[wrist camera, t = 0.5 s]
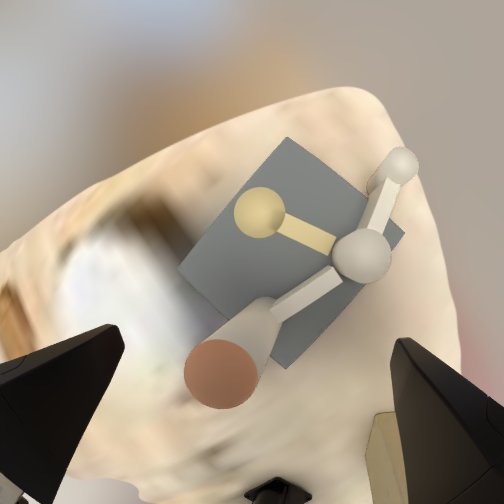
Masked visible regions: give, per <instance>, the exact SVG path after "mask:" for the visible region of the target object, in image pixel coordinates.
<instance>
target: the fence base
mask: <svg viewBox="0 0 504 504" xmlns="http://www.w3.org/2000/svg"><path fill="white" fill-rule="evenodd" d="M418 169H419V164H418V160H417V158H416V156H415V155H414V154H413V153H412V152H411V151H410V150H409V149H407V148H404V147H396V148H394V149H392V150H391V151H390V153H389V154H388V155H387V157H386V158H385V159H384V161H383V162H382V163H381V165H380V166H379V167H378V169H377V170H376V171H375V173H374V174H373V175H372V177H371V178H370V179H369V181H368V182H367V192H368V194H369V197H368V199H369V200H368V203H367V205H366V208H365V210H364V213H363V215H362V217H361V220H360V222H359V225H358V227H357V229H356V231H354V232H352V233H350V234H348V235H347V236H345V237H343V238H341V239H340V240H339V241H338V242H337V243H336V244H335V246H334V248H333V250H332V262H333V265H334V267H335V269H336V270H337V271H338V272H339V273H340V274H342V275H344V276H346V277H348V278H350V279H352V280H354V281H356V282H358V283H364V284H368V283H373V282H375V281H378V280H379V279H381V278H382V277H383V276H384V275H385V274H386V272H387V271H388V269H389V266H390V263H391V249H390V245H389V243H388V241H387V240H386V238H385V237H384V236H383V235H382V234H383V231H384V229H385V226H386V224H387V221H388V219H389V216H390V214H391V211H392V208H393V206H394V203H395V200H396V197H397V195H398V192H399V189H400V188H401V187H402V186H403V185H405V184H406V183H407V182H408V181H410V180H411V179H412V178H414V177H415V176H416V174H417V173H418Z"/></svg>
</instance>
